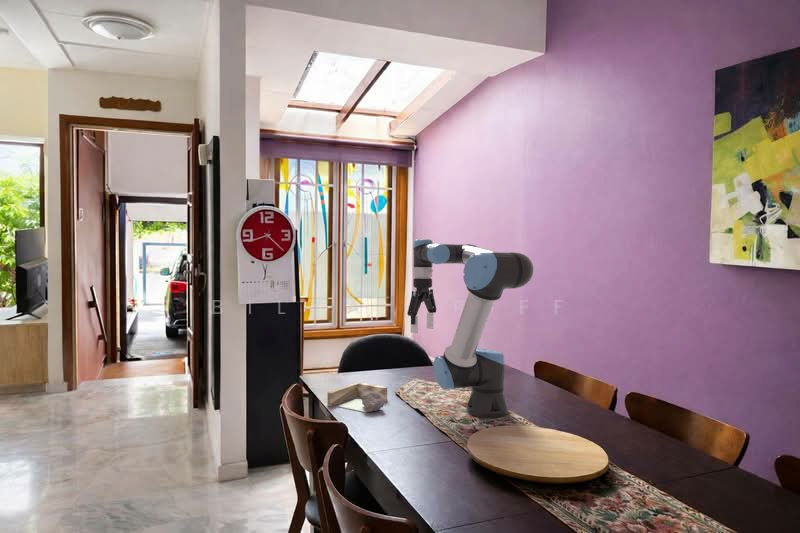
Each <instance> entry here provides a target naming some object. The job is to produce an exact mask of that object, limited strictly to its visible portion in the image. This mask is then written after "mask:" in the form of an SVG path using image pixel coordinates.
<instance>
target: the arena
mask: <svg viewBox="0 0 800 533" xmlns="http://www.w3.org/2000/svg"><path fill="white" fill-rule="evenodd" d="M366 390H368V391H372V392H374V393H376V394H380V396H381V397H383V398H384V402H385V401H387V400H388V387H387V386H383V385H377V384H376V385H375V384H372V383H371V384H370V383H365V382H352V383H349V384H347V385H344V386H341V387H339V388H336V389H333V390H330V391H328V392H327V406H330V407H333V406H335V405H338V404H341V403H343V402H346V401H349V400H351V399H353V398H356V397H361V398H363V393H364V392H365V391H366Z"/></svg>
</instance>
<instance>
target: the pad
mask: <svg viewBox="0 0 800 533" xmlns="http://www.w3.org/2000/svg"><path fill="white" fill-rule="evenodd" d="M362 399H363V398H362ZM362 399H361V398H355V399H352V400H350V401H349V400H348V401H347V402H344V403H342V404H339V405H337V408H341V409H345V410H346V409H347V410H351V411H357V412H361V413H367V414H368V413H369V412H368V411H367V410H366V409H365V406H364V405H363V404H362Z"/></svg>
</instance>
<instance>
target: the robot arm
mask: <svg viewBox="0 0 800 533" xmlns="http://www.w3.org/2000/svg"><path fill="white" fill-rule="evenodd" d="M433 264H435V265H441V264H459V265H461V264H462V265H464V267H463V282H464V284H465V288H466V290H467V292H468V295H467V298H466V300H465V303H464V306H463V309H462V312H461V315H460V318H459V320H458V324H457V328H456V330H455V333H454V336H453V339H452V342H451V344H450V345H447V347H445V349H444V351H443V355H439V356H436V357H435V358H434V360H433V374H434V378H435V380H436V382H437V385H438V386H439V387H440V388H441V389H444V390H457V389H464V388H471V391H470V395H469V397H468V401H467V403H466V413H467V414H469V415H470V416H473V417H476V418H482V419H500V418H503V417H505V416H508V414H509V405H508V403H507V402H508V401H507V399H506V396H505V395H506V394H505V391H504V390H505V366H506V365H505V355H504V354H503V353H502V352H501V351H498V350H493V349H489V348H482V347H481V348H480V347H479V346H478V345H479V344H480V340H481V339H482V335H483V332H484V329H485V327H486V324H487V321H488V319H489V316H490V315H491V314H490V313H491V311H492V308H493V306H494V303H495V302H496V301H499V300H500V299H501V298H502V295H503V294H504V293H503V292H504V290H505V289H506V290H507V289H508V290H510V289H518V288H522V287H524V286H526V285H527V284H528V283H529V282H530V281H531V279H533V274H534V266H533V265H534V264H533V262H532V260H531V258H529V257H528V256H527V255H525V254H523V253H521V252H499V251H494V250H491V249H486V248H482V247H478V246H477V245H476V244H470V243H469V244H467V243H466V244H452V243H451V244H450V243H433V240H432V239H431V238H430V239H429V238H428V239H427V238H425V239H424V238H423V239H422V238H420V239H419V238H418V239H417V238H416V239H414V241H413V274H412V275H413V277H414V278H413V282H412V283H413V284H412V285H413V288H416V289H415V290H412V291H411V297H410V302H409V306H408V309H407V316H408V317H410V333H413V334H414V333H415V334H417V333H418V330H419V328H418V326H419V325H418V320H419V319H418V318H419V317H418V312H419V309H420V307H421V304H422V303H424V305H425V307H426V310H427V312H426V329H434V315H435V313H437V305H436V300H435V296H434V289H433V278H432V277H433V271H434V270H433ZM478 347H479V348H478Z"/></svg>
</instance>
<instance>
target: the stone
mask: <svg viewBox="0 0 800 533" xmlns="http://www.w3.org/2000/svg"><path fill="white" fill-rule="evenodd" d="M362 404H363V405H364V406H365V409H366V410H367V411H368V412H367V413H371V412H375V411H379V410H380V409H382V408H384V405H385V401H384V398H383V397H381V396H380V394H376V393H374V392H372V391H368V390H366V391H365V392H364V393H363V397H362Z"/></svg>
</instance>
